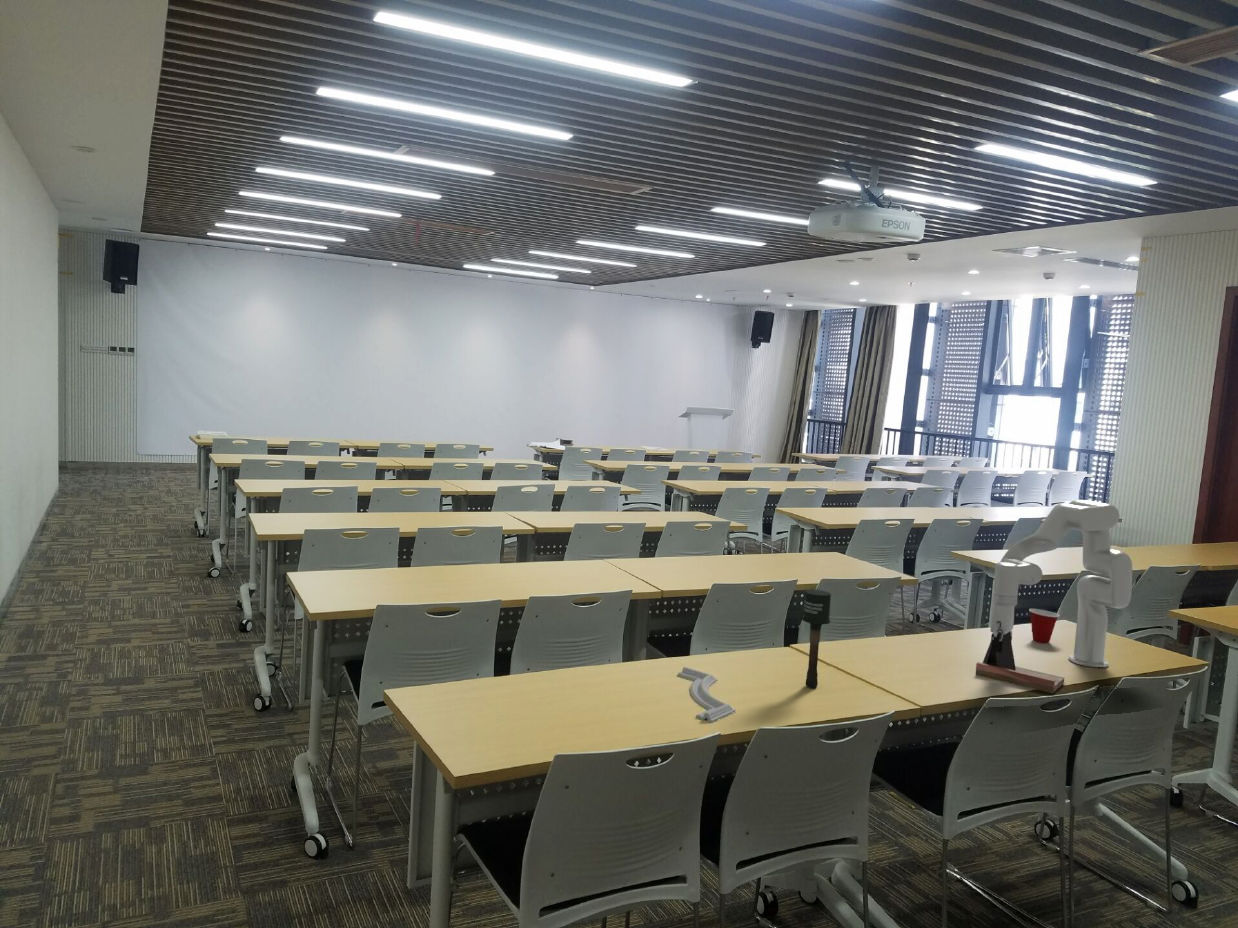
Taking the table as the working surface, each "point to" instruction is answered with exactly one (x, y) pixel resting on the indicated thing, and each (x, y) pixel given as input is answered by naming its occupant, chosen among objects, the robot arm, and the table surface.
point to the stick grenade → (815, 627)
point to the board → (1025, 683)
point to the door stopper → (1001, 654)
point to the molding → (705, 695)
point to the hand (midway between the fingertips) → (1001, 648)
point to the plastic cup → (1042, 624)
